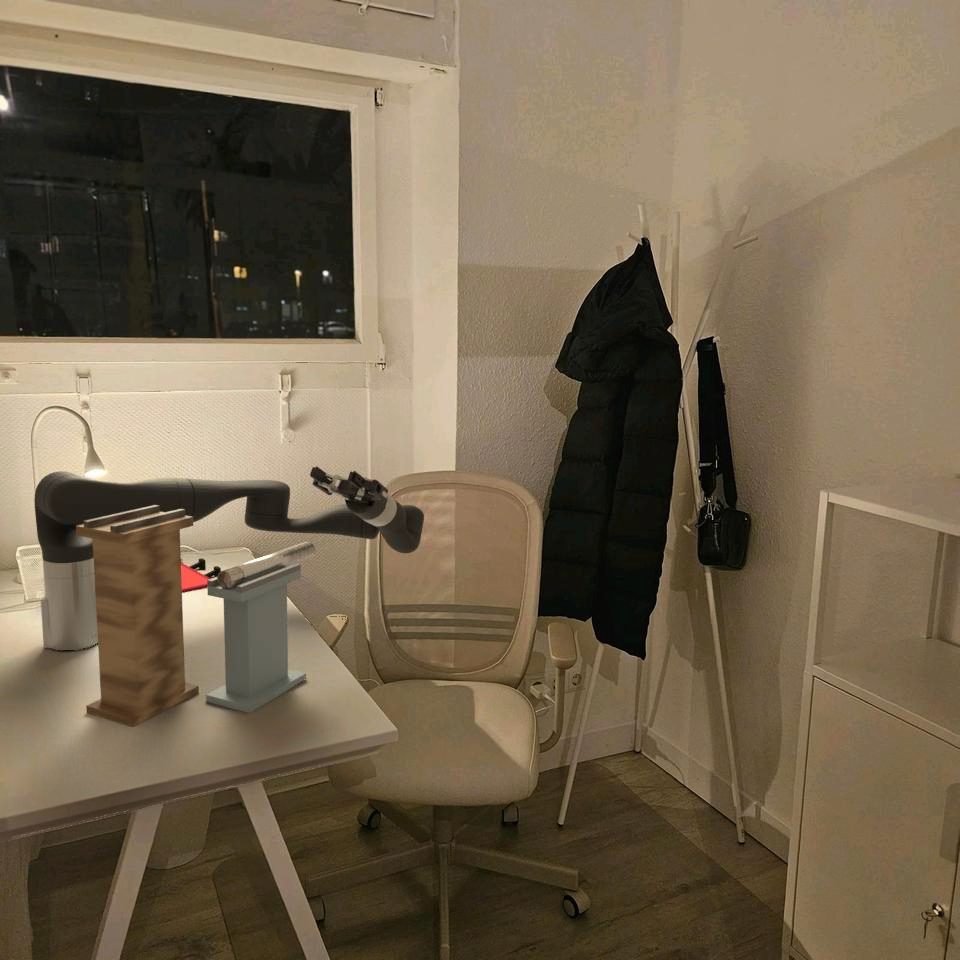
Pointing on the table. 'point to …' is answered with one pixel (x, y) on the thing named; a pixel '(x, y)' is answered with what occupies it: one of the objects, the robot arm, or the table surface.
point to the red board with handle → (196, 576)
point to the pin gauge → (265, 565)
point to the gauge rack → (255, 641)
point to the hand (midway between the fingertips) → (331, 473)
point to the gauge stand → (138, 612)
